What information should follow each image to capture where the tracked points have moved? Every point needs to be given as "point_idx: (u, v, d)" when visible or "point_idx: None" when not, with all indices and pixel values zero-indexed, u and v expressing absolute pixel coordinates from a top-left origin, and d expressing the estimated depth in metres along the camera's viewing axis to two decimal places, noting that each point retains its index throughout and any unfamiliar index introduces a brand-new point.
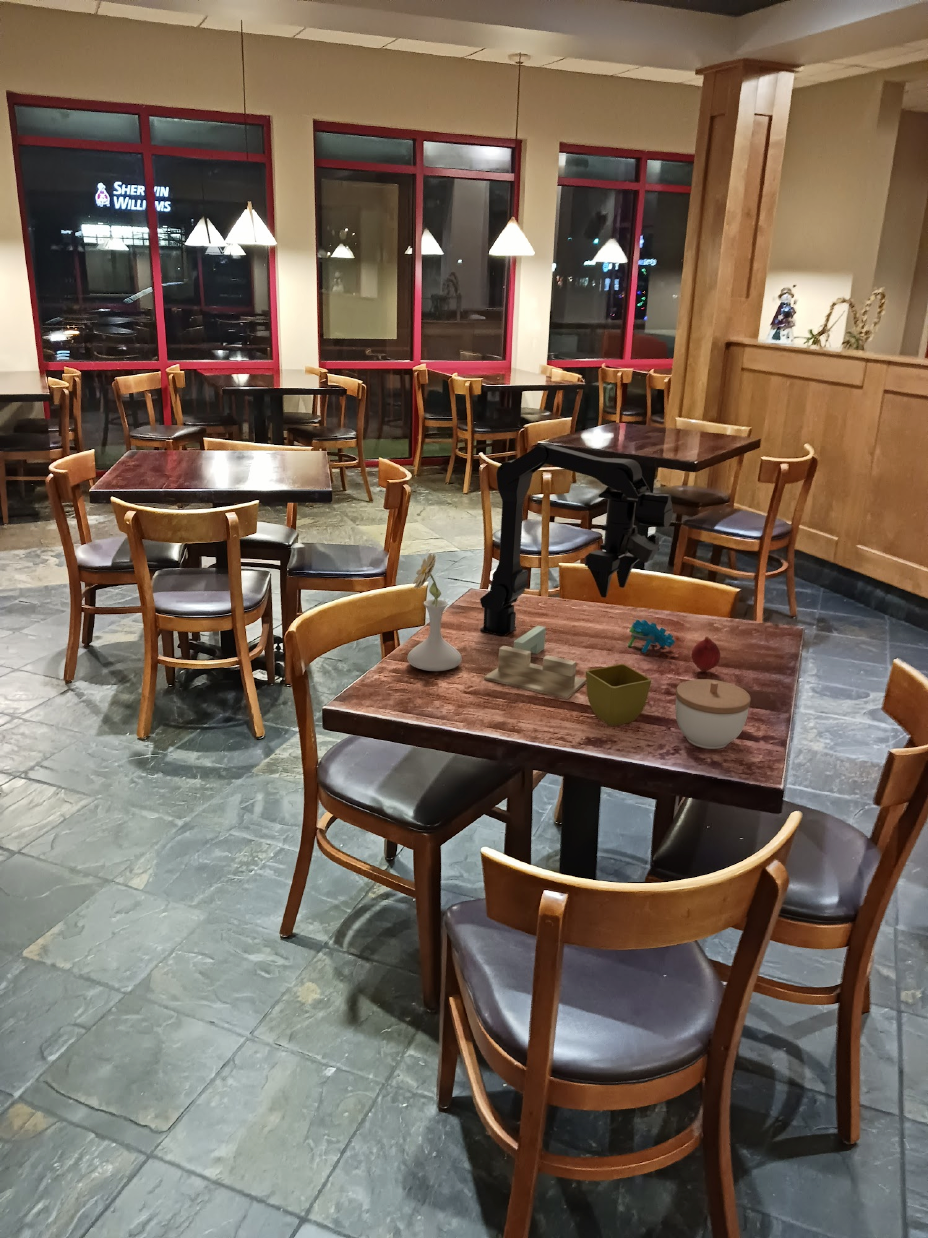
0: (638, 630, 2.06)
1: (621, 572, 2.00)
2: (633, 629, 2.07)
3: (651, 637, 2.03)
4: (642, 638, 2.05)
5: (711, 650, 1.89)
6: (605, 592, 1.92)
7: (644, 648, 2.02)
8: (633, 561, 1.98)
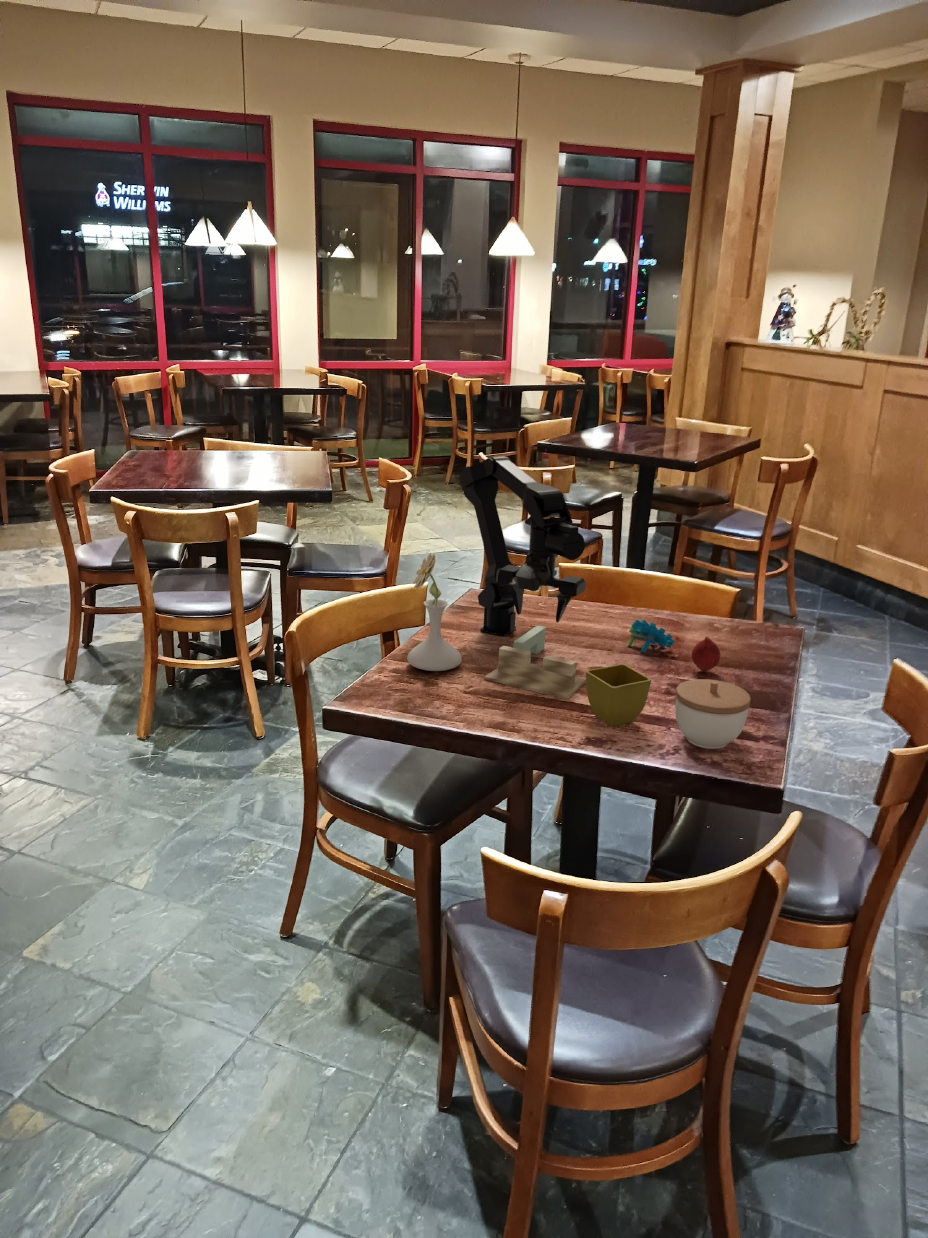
0: (638, 630, 2.06)
1: None
2: (633, 629, 2.07)
3: (650, 637, 2.03)
4: (642, 638, 2.05)
5: (711, 650, 1.89)
6: None
7: (643, 648, 2.02)
8: None
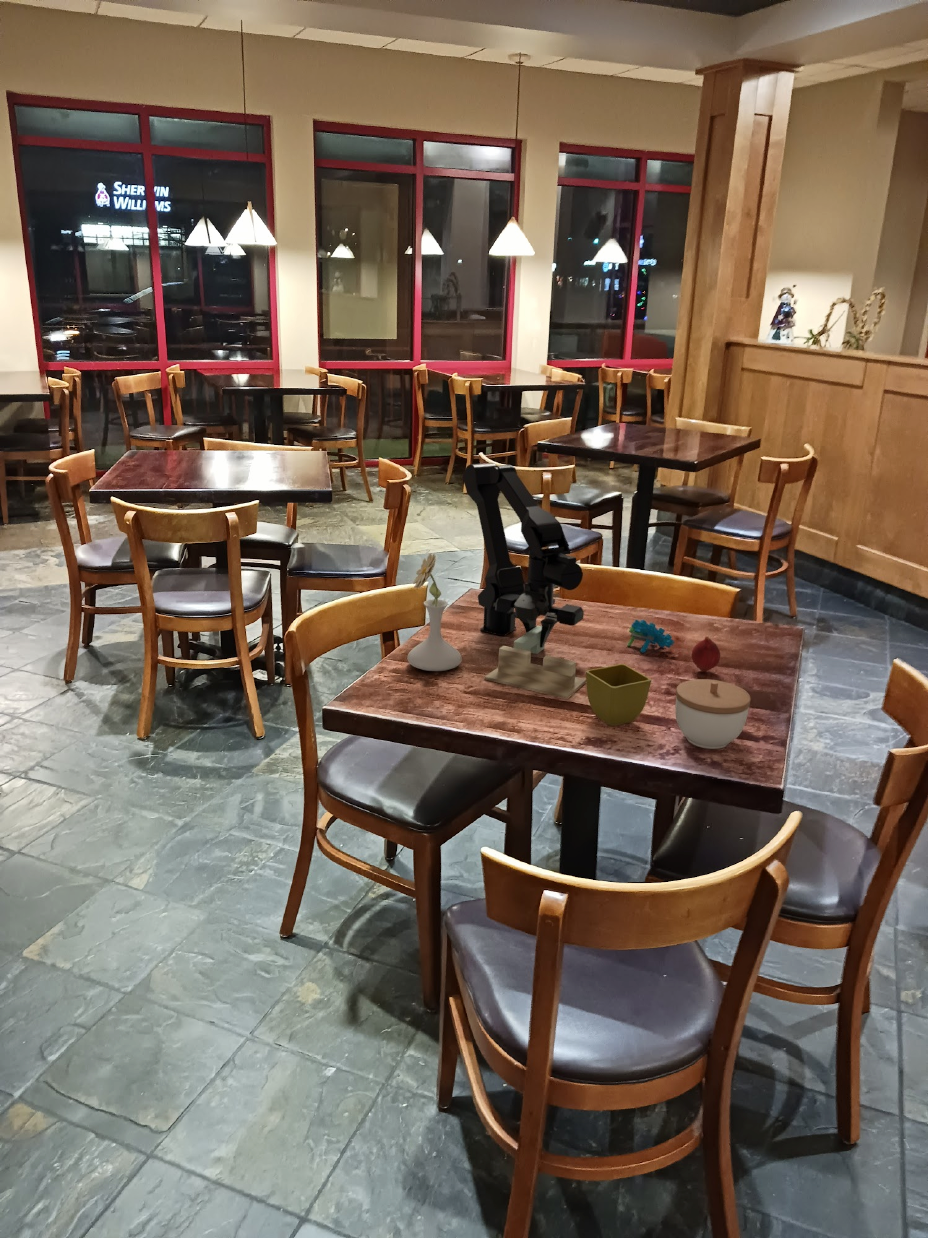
0: (637, 630, 2.06)
1: None
2: (633, 629, 2.07)
3: (650, 637, 2.03)
4: (641, 638, 2.05)
5: (711, 650, 1.89)
6: None
7: (643, 648, 2.02)
8: None
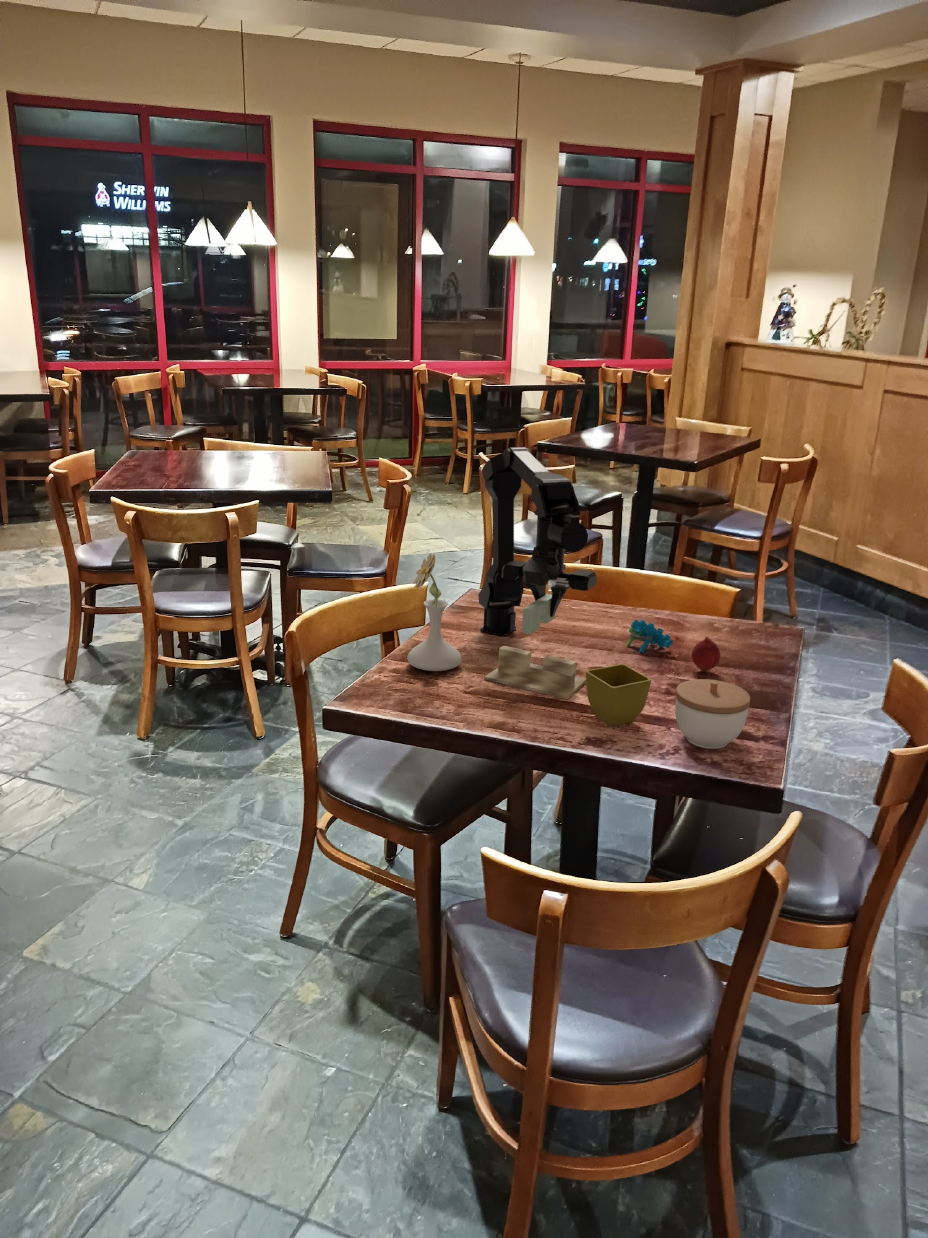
0: (637, 630, 2.06)
1: None
2: (632, 629, 2.07)
3: (649, 637, 2.02)
4: (640, 638, 2.05)
5: (711, 650, 1.89)
6: None
7: (642, 648, 2.02)
8: None
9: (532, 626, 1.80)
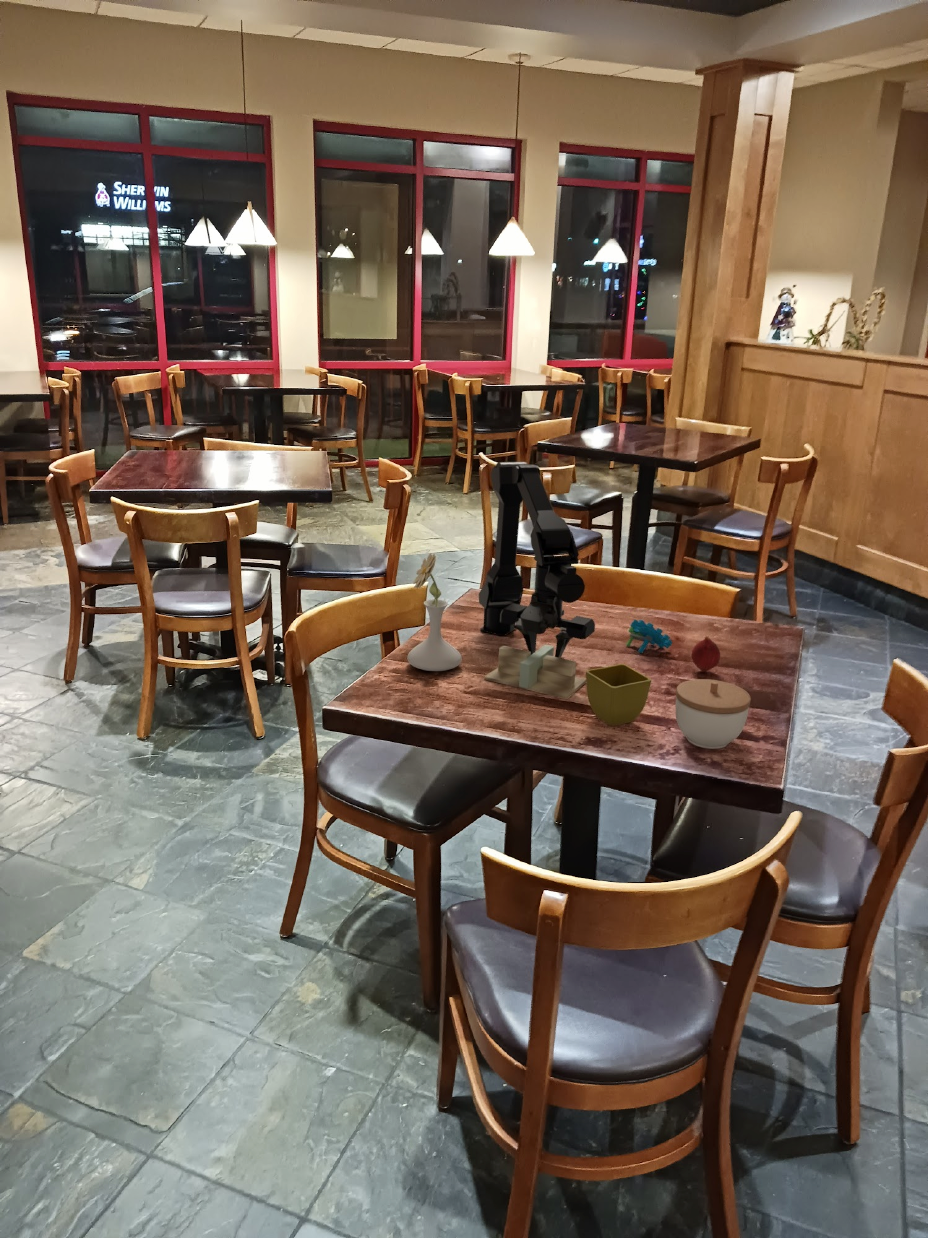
0: (637, 630, 2.06)
1: None
2: (632, 629, 2.07)
3: (648, 637, 2.02)
4: (640, 638, 2.05)
5: (711, 650, 1.89)
6: None
7: (641, 648, 2.02)
8: None
9: (529, 680, 1.80)
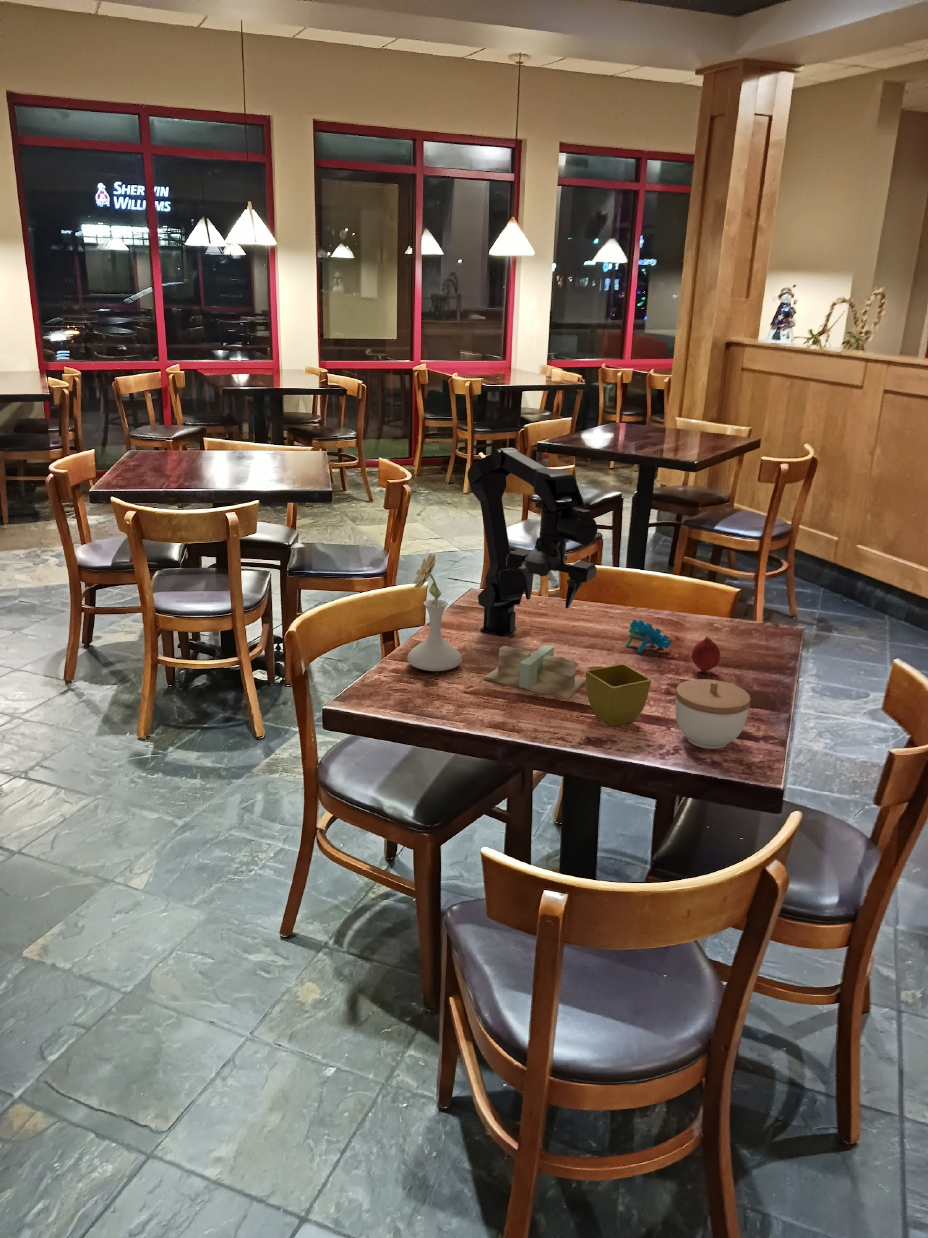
0: (636, 630, 2.06)
1: None
2: (631, 629, 2.07)
3: (647, 637, 2.02)
4: (639, 638, 2.04)
5: (711, 650, 1.89)
6: None
7: (640, 648, 2.02)
8: None
9: (529, 680, 1.80)
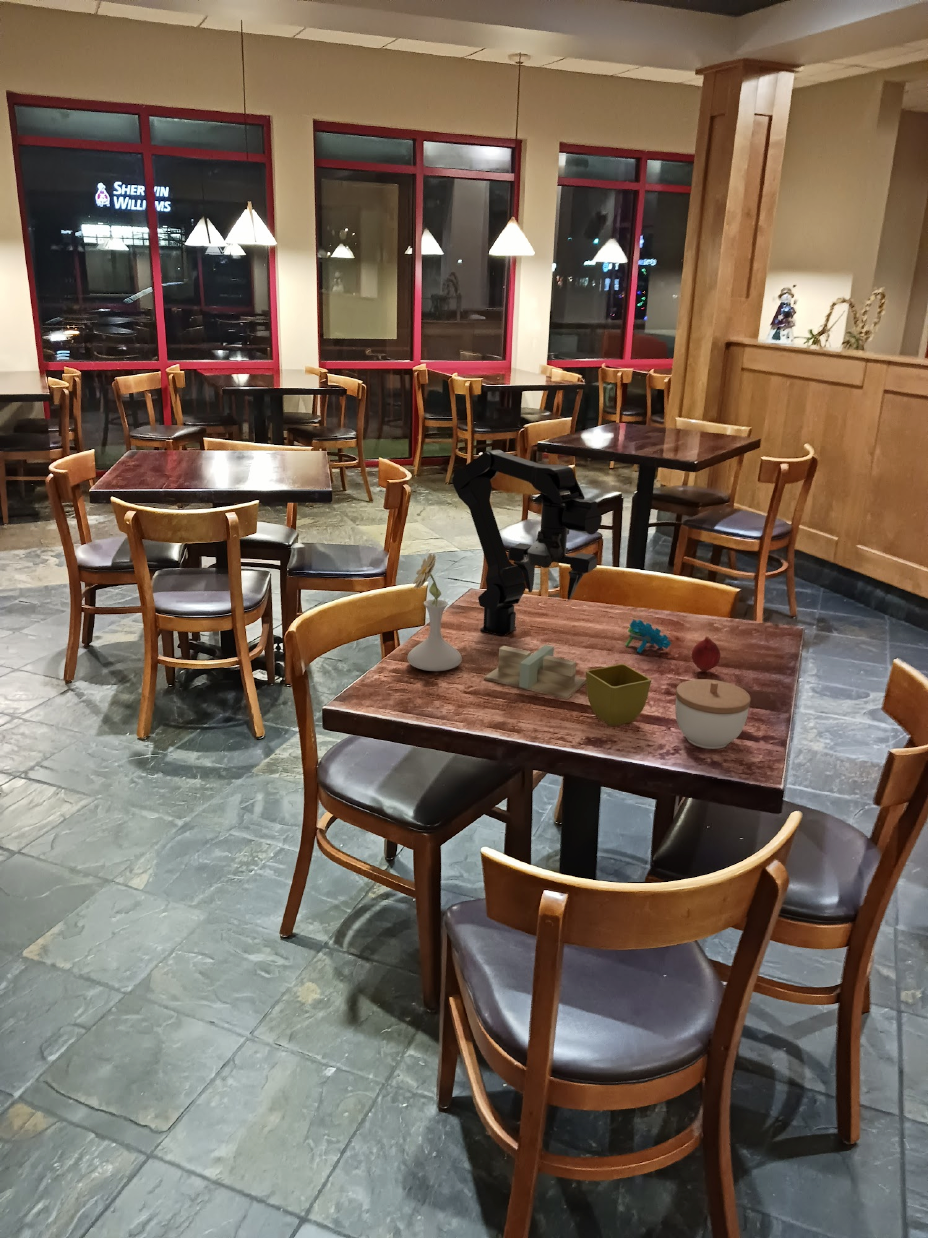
0: (636, 630, 2.06)
1: None
2: (631, 629, 2.07)
3: (647, 637, 2.02)
4: (639, 638, 2.04)
5: (711, 650, 1.89)
6: None
7: (639, 648, 2.02)
8: None
9: (529, 680, 1.80)
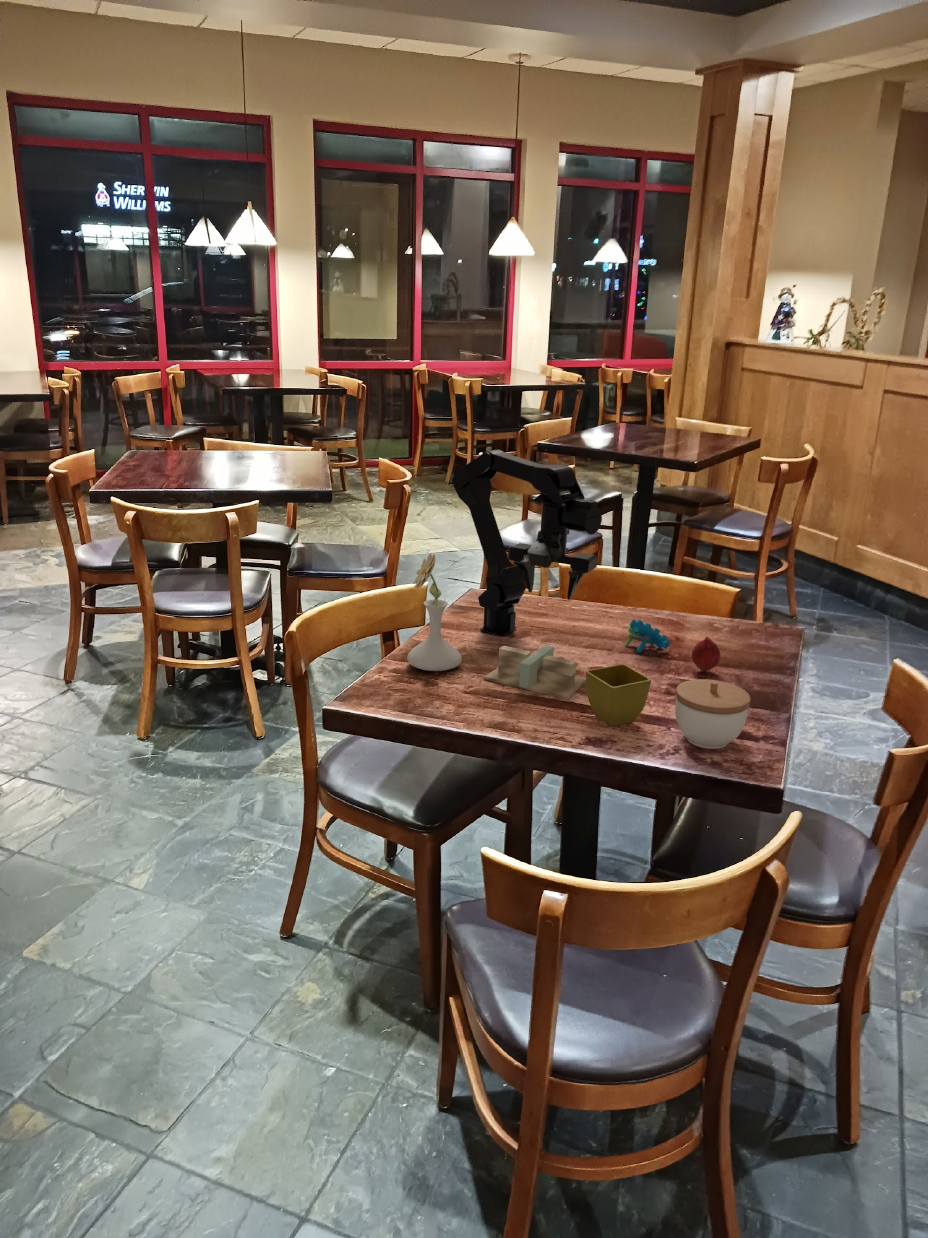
0: (636, 630, 2.06)
1: None
2: (631, 629, 2.07)
3: (647, 638, 2.02)
4: (638, 638, 2.04)
5: (711, 650, 1.89)
6: None
7: (639, 648, 2.02)
8: None
9: (529, 680, 1.80)
